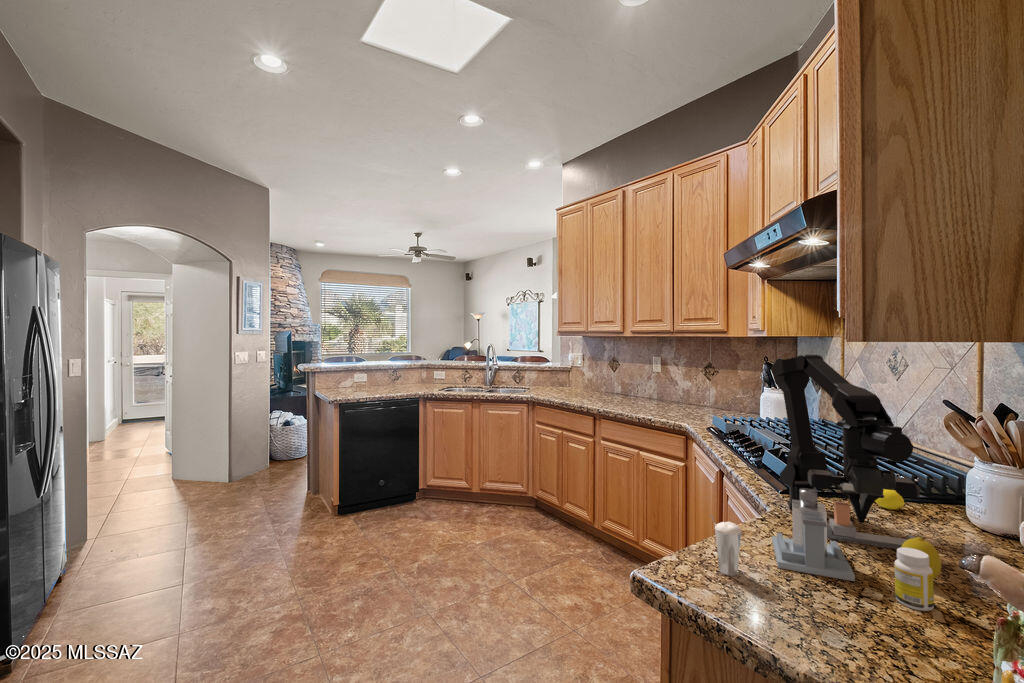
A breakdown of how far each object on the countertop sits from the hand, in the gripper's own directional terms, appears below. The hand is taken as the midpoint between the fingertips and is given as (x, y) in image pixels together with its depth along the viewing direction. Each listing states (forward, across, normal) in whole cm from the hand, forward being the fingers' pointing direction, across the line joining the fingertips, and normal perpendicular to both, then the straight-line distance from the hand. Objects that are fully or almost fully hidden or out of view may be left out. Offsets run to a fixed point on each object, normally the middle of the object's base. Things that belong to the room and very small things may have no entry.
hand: (860, 522), depth 98 cm
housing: (+3, -12, -15) cm, 19 cm away
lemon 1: (+4, +11, +27) cm, 30 cm away
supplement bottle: (+4, +1, -26) cm, 26 cm away
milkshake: (+4, -27, -27) cm, 38 cm away
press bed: (+4, -12, -15) cm, 19 cm away
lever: (+3, -3, 0) cm, 4 cm away
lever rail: (+4, +1, 0) cm, 4 cm away
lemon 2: (+4, +5, -17) cm, 18 cm away
